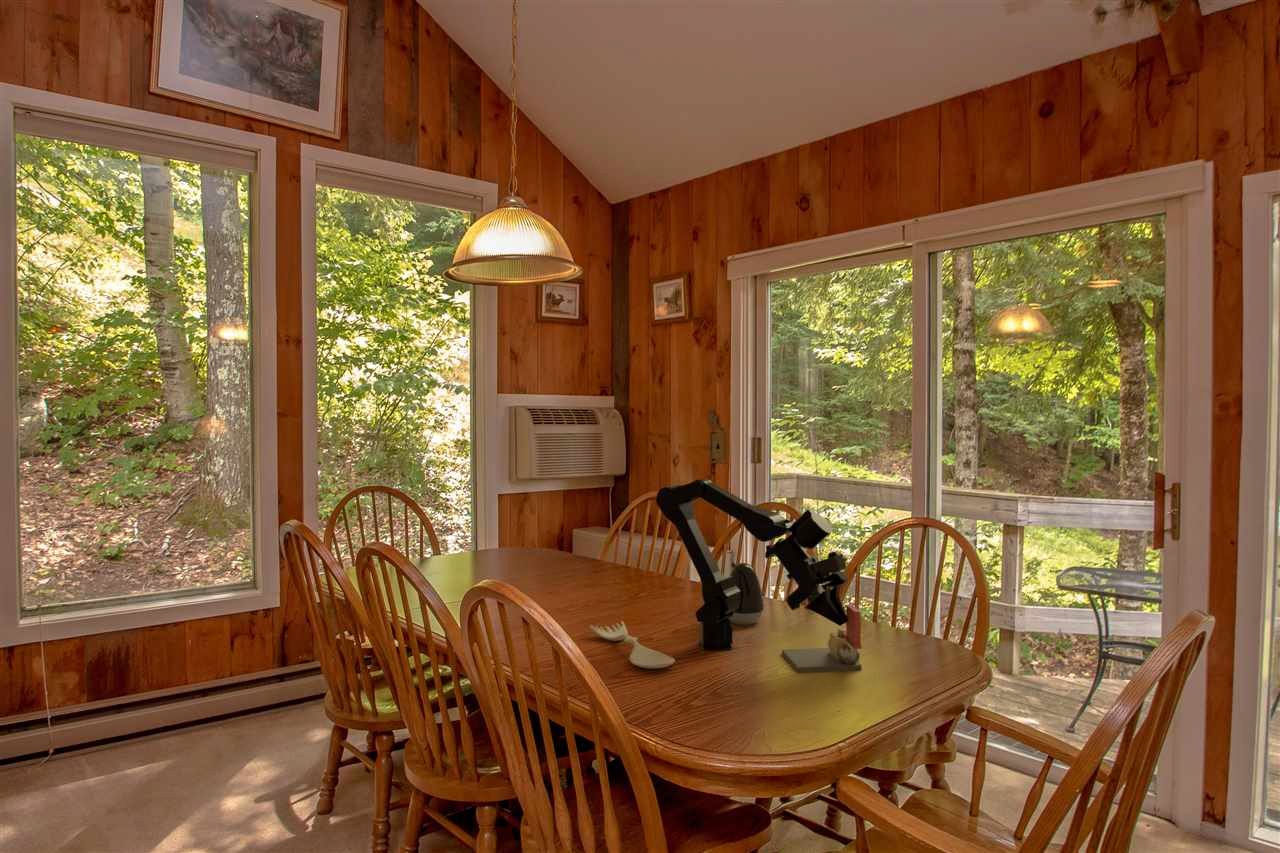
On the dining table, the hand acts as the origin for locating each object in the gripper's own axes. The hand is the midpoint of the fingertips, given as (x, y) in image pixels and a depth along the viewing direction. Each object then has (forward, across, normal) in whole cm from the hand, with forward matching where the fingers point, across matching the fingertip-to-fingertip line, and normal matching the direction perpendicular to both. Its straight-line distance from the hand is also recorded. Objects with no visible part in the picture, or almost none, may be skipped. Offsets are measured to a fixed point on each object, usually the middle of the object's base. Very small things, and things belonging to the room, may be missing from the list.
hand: (844, 623), depth 161 cm
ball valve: (+5, +5, +8) cm, 11 cm away
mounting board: (+3, +3, +12) cm, 13 cm away
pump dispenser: (-17, +20, +34) cm, 43 cm away
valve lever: (+3, +2, +2) cm, 4 cm away
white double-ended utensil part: (-22, -17, +39) cm, 47 cm away
